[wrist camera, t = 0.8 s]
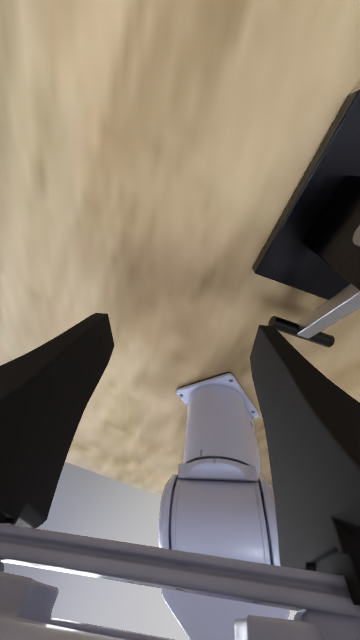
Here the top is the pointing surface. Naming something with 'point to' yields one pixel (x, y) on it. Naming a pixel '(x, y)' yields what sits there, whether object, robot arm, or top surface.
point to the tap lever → (321, 317)
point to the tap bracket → (322, 217)
